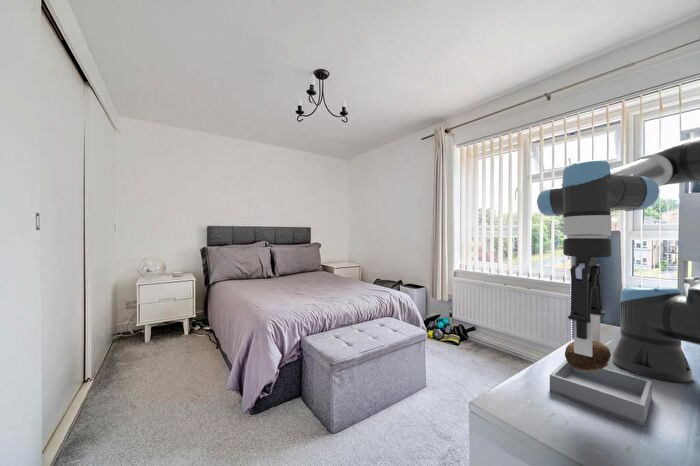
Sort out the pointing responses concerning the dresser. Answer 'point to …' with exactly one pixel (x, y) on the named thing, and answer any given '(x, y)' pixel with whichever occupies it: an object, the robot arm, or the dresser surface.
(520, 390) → the dresser surface
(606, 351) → the mushroom
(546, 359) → the dresser surface
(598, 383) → the tray
